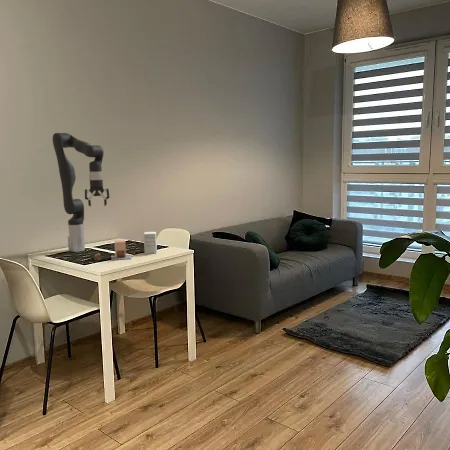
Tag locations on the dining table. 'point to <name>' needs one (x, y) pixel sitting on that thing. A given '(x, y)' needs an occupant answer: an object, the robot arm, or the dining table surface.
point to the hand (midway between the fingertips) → (97, 206)
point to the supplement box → (150, 243)
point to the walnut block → (97, 257)
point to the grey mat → (120, 257)
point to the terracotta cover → (120, 248)
